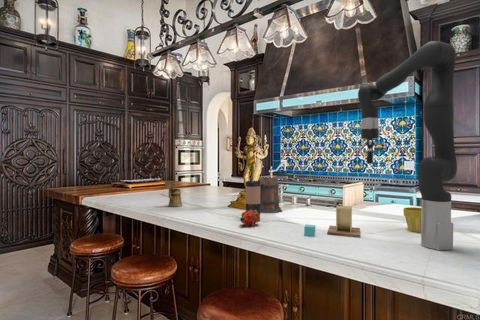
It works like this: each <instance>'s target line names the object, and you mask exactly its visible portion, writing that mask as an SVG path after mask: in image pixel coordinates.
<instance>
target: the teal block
mask: <svg viewBox="0 0 480 320" xmlns="http://www.w3.org/2000/svg"><path fill="white" fill-rule="evenodd" d="M303 236H304V237H312V238H314V237H315V236H316V225H315V224H304V234H303Z"/></svg>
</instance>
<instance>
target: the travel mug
mask: <svg viewBox="0 0 480 320" xmlns="http://www.w3.org/2000/svg"><path fill="white" fill-rule="evenodd" d="M250 209H252V210H253V211H254V210H257V212H258V213H259V216H260V218H259V220H261V213H260V180H247V181H245V211H246V210H248V211H250Z"/></svg>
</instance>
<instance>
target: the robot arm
mask: <svg viewBox="0 0 480 320" xmlns="http://www.w3.org/2000/svg"><path fill="white" fill-rule="evenodd" d="M456 56H457V55H456V50H455V47H454V46H453V45H452V44H450V43H447V42H443V41H439V40H431V41H427V42H426V43H425V44H423V45H422V46H421V47H419V48H418V49H417V50H416V51H415V52H414V53H413V54H411V55H410V56H409V57H408V58H406V59H405V60H404V61H403V62H402V63H400V64H399V65H398V66H397V67H395V68H393V69H392V70H390V71H389V72H386V73H385V74H384V75H381V76H380V77H379V78H378V79H377V80H376V82H375V84H374V85H373V84H363V85H361V86H360V87H359V89H358V91H357V92H358V93H357V98H358V101H359V105H360V106H359V107H360V109H361V122H360V139H362V140H366V142H365V143H364V147H365V152H366V153H365V154H366V164H369V165H372V164H373V163H374V162H373V160H374V159H373V158H374V152H375V144H376V143H375V141H374V139H375V140H377V139H379V137H380V134H379V133H380V131H379V128H380V127H379V107H378V106H377V105H375V104H373V102H374V101H375V102H376V101H377V100H378V101H379V100H380V99H381V98H383V97H384V96H385V95H386V94H387V93H388V92H390V91H392V90H393V89H395V88H397V87H399V86H401V84H403V83H404V82H405V81H406V80H407V78H408V77H410V75H412V74H413V73H414V72H416V71H418V70H419V71H420V70H421V69H424V68H429V69H431V71H432V73H431V74H432V83H431V87H430V89H429V92H428V94H427V95H426V98H425V100H424V104H423V122H424V126H425V128H426V130H427V132H428V134H429V135H430V137H431V139H432V142H433V145H434V156H427V157H424V158H422V160H421V161H420V163H419V165H418V189H419V192H420V194H421V206H420V208H421V232H420V245H421V246H422V247H425V248H428V249H433V250H436V251H450V250H454V223H453V222H452V194H451V192H448V191H447V190H446V189H445V188H444V186H443V182H450V181H452V180H453V179H454V178H455V177H456V174H457V172H458V164H457V163H458V162H457V155H456V149H455V133H454V132H455V131H454V117H455V116H454V115H455V113H454V112H455V111H454V74H455V66H456V65H455V64H456Z"/></svg>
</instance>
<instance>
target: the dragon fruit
mask: <svg viewBox="0 0 480 320" xmlns="http://www.w3.org/2000/svg"><path fill="white" fill-rule="evenodd" d="M259 218H260V220H261V215H260V216H259V213H258V212H257V210H254V211H253V210H252V209H250V211H248V210H246V209H245V211H244V212H242V213H241V218H240V219H239V220H240V222H241V223H242V224H243V225H242V226H243V227H249V226H251V227H254V226H255V225H256V223H259V222H260V220H259Z"/></svg>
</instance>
